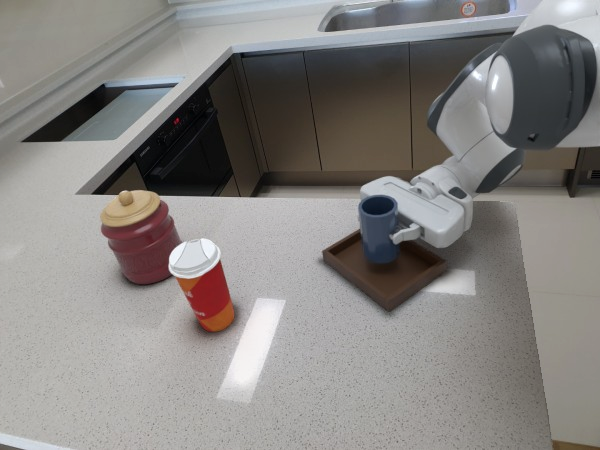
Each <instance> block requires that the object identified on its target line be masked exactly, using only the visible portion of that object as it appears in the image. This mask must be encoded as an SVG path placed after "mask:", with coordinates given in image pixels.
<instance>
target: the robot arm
mask: <svg viewBox="0 0 600 450" xmlns="http://www.w3.org/2000/svg"><path fill="white" fill-rule="evenodd" d="M426 127H427V128H428V129H429V130H430V131H431V132H432V134H434V135H435V136H436V137H437V138H438V139H439V140H440V141H441V142H442V143H443V144H444V146H445V147H446V148H447V149H448V151H449V152H450V153H451V154H452V155H451V156H449V157H448V158H446V159H445V160H444V161H443V162H442V163H441V164H437V165H436V164H435V165H433V166H432V167H430V168H428V169H427V170H425V171H423V172H421V173H420V174H418V175H416V176H414V177H413V178H412V179H410V181H407V180H403V179H402V178H401V177H397V176H396V177H395V176H392V175H387V176H383V177H379V178H377V179H374V180H372V181H370V182H367V183H365V184H364V185H362V186H361V187H360V190H359V197H360V202H361V201H362V200H363V199H365V198H366V197H369V196H372V195H387V196H390V197H392V198H394V199H395V200H396V201H397V203H398V222H399V228H402V229H399V230H398V229H395V230H393V231H392V232H390V233H389V241H391V242H392V243H394V244H398V243H400V242H401V241H406V240H413V241H414V240H417V239H418V238H419V239H420V240H422V241H424V242H426V243H428V244H429V245H430V246H432V247H434V248H436V249H445V248H447V247H449V246H450V245H452V244H453V243H455V242H456V241H458V239H460V238H461V236H463V234H464V232H466V231H468V230H470V229H471V226H472V221H473V213H474V202H473V199H475V198H477V196H479V195H480V194H489V193H491V192H493V191H494V190H496V189H498V188H499V187H501V186H502V185H504V184H505V183H507V182H508V181H510V180H511V179H513V177H515V176H516V175H517V174H518V173H519V172H520V171H521V170H522V169H523V168H524V165H525V160H526V156H527V151H532V152H533V151H535V152H536V151H537V152H548V151H552V150H553V149H554V148H592V147H593V148H594V147H600V0H541V1H540V2H539V3H538V4H537V5H536V6H535V8H533V9H532V10H531V12H529V13H528V14H527V16H526V17H525V18H524V20H523V21H522V22H521V24H520V25H519V26H518V28H517V29H516V30H515V31H514V33H513V35H512V36H511V37H509V38H507V39H505V41H504V42H495V43H493V44H492V45H489V46H488V47H486V48H484V49H483V50H482V51H480V52H479V53H478V54H476V55H475V56H474V57H473V58H472V59H470V60H469V61H468V63H466V65H465V66H464V67H463V68H462V69H461V70H460V71H459V73H458V74H457V75H456V76H455V78H454V79H453V80H452V81H451V83H450V84H449V85H448V87H447V88H446V89H445V90H444V92H442V93H441V94H440V95H438V96H437V98H435V100H434V101H433V102H432V103H431V104H430V107H428V110H427V115H426ZM357 221H358V222H359V213H358V214H357Z"/></svg>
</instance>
